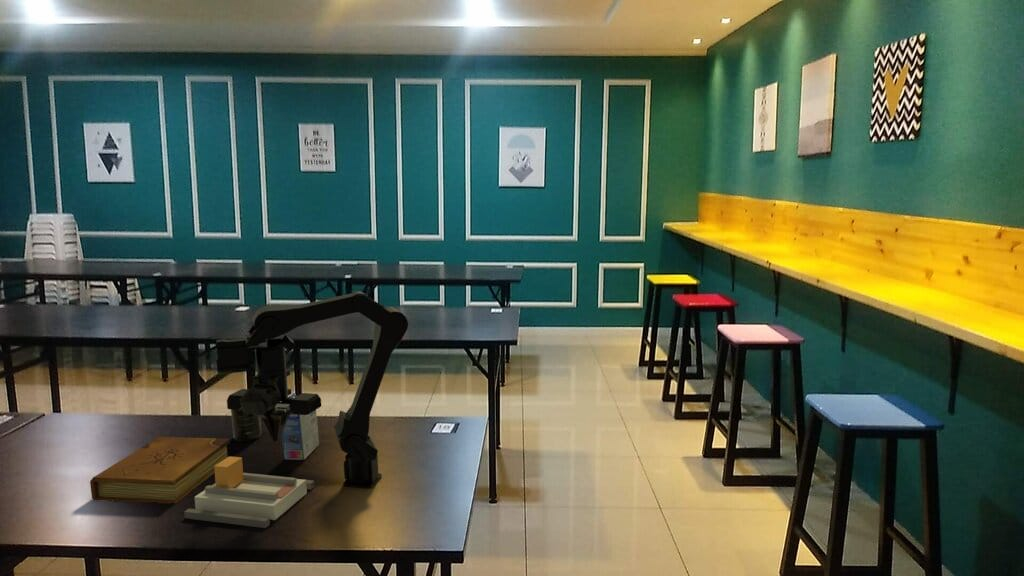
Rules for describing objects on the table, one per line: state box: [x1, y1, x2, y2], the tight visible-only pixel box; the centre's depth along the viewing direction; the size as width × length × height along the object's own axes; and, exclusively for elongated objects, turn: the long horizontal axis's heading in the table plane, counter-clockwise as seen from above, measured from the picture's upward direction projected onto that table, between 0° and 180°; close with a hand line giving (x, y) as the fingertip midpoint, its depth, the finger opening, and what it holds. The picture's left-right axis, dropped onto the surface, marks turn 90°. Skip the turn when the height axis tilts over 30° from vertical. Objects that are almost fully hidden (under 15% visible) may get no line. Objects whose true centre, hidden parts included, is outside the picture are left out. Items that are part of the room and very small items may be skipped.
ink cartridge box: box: [281, 392, 320, 461], centre depth 171 cm, size 10×6×14 cm, turn 174°
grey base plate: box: [183, 478, 315, 529], centre depth 146 cm, size 18×18×1 cm
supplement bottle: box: [230, 408, 262, 443], centre depth 181 cm, size 7×7×12 cm
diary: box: [89, 436, 231, 505], centre depth 158 cm, size 23×19×6 cm
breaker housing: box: [194, 472, 308, 521], centre depth 146 cm, size 18×12×4 cm, turn 76°
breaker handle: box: [214, 456, 244, 488], centre depth 147 cm, size 3×5×5 cm, turn 166°
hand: (276, 441), depth 147 cm, fingers closed
